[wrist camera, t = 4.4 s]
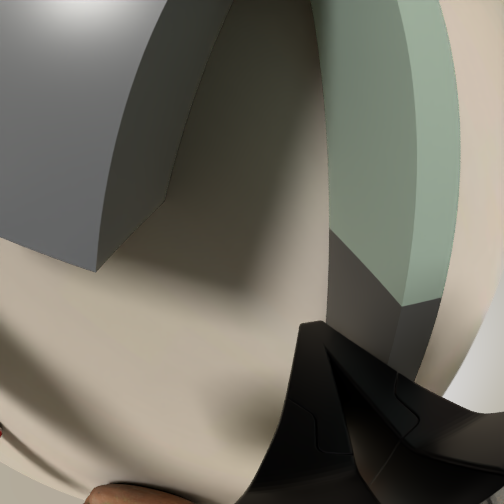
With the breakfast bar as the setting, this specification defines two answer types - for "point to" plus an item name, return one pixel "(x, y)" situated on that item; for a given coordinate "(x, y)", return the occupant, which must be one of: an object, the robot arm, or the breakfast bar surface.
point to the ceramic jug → (131, 495)
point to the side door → (388, 170)
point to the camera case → (94, 116)
